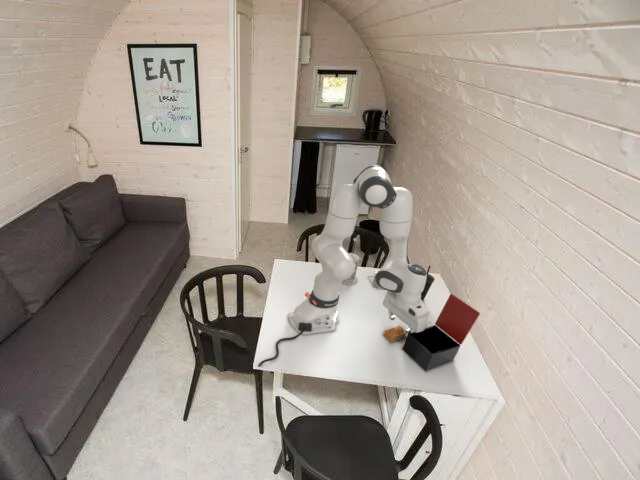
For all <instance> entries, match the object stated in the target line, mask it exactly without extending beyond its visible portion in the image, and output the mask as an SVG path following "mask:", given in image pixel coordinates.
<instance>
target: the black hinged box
mask: <svg viewBox="0 0 640 480" xmlns="http://www.w3.org/2000/svg"><path fill="white" fill-rule="evenodd" d="M461 346H462V344H461V345H460V344H459V343H458V342H456V341H455V340H454V339H453V338H451V337H450V336H449V335H448V334H446V333H445V332H444V331H443V330H441V329H440V328H439V327H438V326H436V325H435V324H433V325H430V326H426V327H425V330H424V331H422V332H419V333H416V332H415V331H411V333H409V334H407V333H406V336H405V339H404V343H403V345H402V348H401V350H402V351H403V352H404V353H406V355H407V356H408V357H410V358H411V359H412V360H413V361H414V362H415V363H416V364H417V365H418V366H419V367H420V368H421V369H422V370H423V371H425V372H427V371H430V370H433V369H435V368H438V367H441V366H444V365H446V364H449V363H451V362H453V361H454V360H455V358H456V357H457V354H458V352H459V350H460V348H461Z"/></svg>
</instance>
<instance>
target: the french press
mask: <svg viewBox="0 0 640 480" xmlns="http://www.w3.org/2000/svg"><path fill="white" fill-rule="evenodd" d="M352 240H353V241H354V242H353V244H355V242H357V241H358V239H357V238H356V237H354V238H353V239H352ZM354 247H355V245H353V247H352V249H354ZM353 251H354V250H352V252H348V253H349V254H350V256H351V257H352V259H353V261H354V263H355V266H356V268H355V271H354V273H353V274H352V276H351V277H349V278H348V279H345V280H343V281H342V283H341V284H343V285H344V284H345V285H354V284H355V283H356V282H357V279H356V274H357V270H358V264H357V262H359V261H360V256H359V255H358V254H356V253H353Z"/></svg>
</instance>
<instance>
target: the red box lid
mask: <svg viewBox="0 0 640 480" xmlns="http://www.w3.org/2000/svg"><path fill="white" fill-rule="evenodd" d="M480 314H481V312H479V311H478V310H477V309H475V308H474V307H472V306H470V305H469V304H468V303H467V302H465V301H463V300H462V299H460V298H459V297H457V296H456V295H454V294H453V293H450V294H449V296H448V298H447V300H446V301H445V303H444V305H443V308H442V310H441V311H440V312H439V315H438V317H437V319H436V321H435V322H434V325H436V326H437V327H438V328H439V329H441V330H442V331H443V332H444V333H446V334H447V335H448V336H449V337H451V338H452V339H453V340H454V341H456V342H457V343H458V344H459V345H461V346H462V345H463V343H464V341H465V340H466V338H467V337H468V335H469V334H470V331H471V330H472V328H473V327H474V324H475V323H476V321H477V320H478V318H479V316H480Z"/></svg>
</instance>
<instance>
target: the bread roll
mask: <svg viewBox="0 0 640 480" xmlns="http://www.w3.org/2000/svg"><path fill="white" fill-rule="evenodd" d="M405 331H406V329H404V327H402V326H401V325H397V326H394V327H391V328H388V329H385V330H384V331H383V336H384V337H385V339H387V341H388V342H390V343H392V342H396V341H398V340H401V339H404V338H406V337H407V333H406V332H405Z"/></svg>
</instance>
